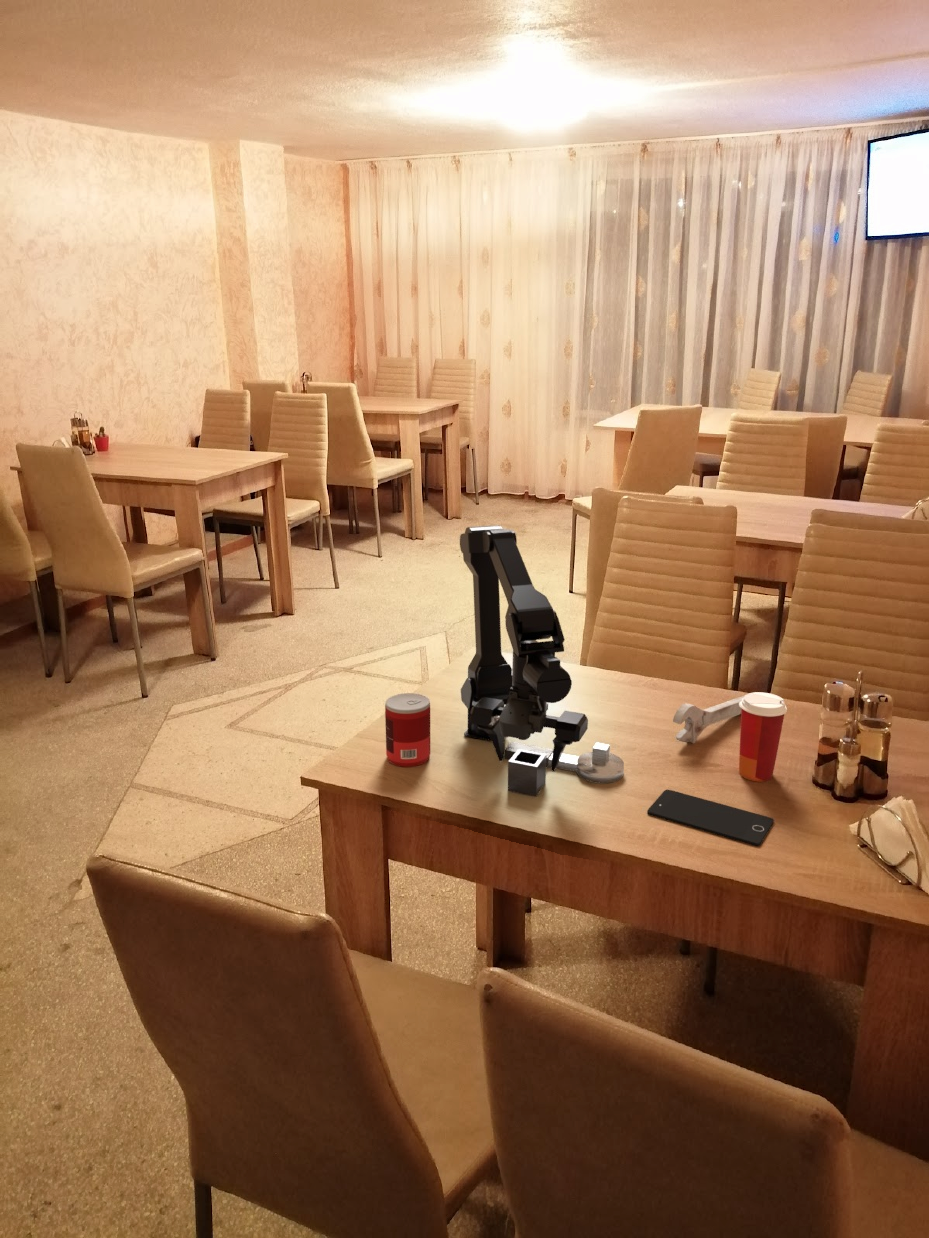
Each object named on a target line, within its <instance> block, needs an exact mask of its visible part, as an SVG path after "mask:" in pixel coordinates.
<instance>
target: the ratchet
mask: <svg viewBox="0 0 929 1238" xmlns="http://www.w3.org/2000/svg"><path fill="white" fill-rule="evenodd" d="M610 748H611V745H610V744H609V743H608V744H607V743H603V742H595V744H594V745H593V747H592V751H589V752H585V753H582V754H580V755H574V754H567V753H564V752H563V753H562V755H561V758H560V760H559V762H558V765H557V767H556V769H559V770H564V771H569V772H574V773H577V775H578V777H580V778H581V779H583V780H585V781H587V782H591V783H595V784H612V783H615V782H618V781H620V780H621V779H622V778H623V776H624V768H625V767H624V765H625V763H624V760H623V759H622V758H621V757H620V756H619V755H617V754H613V753H611V752H610ZM518 749H522V750H527V751H532V752H538V753H543V754H547V755H546V768H549V767H550V768H552V766H551V764H552V757H553V749H554V748H547V747H543V746H536V745H532V744H531V745H530V744H526V743H521V742H520V743H519V742H515V741H511V742H509V743H508V745H507V747H506V748H505V751H504V759H503V760H507V761H509V760H510V759H511V757H512V756H513V755H514V754H515V753H516V751H517V750H518Z"/></svg>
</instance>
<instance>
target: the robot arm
mask: <svg viewBox="0 0 929 1238" xmlns="http://www.w3.org/2000/svg"><path fill="white" fill-rule="evenodd" d="M517 540H518V539H517V534H516V532H515V530H514V529H510V528H503V527H502V526H501V525H500V524H496V525H495V524H494V525H481V526H480V525H479V526H467V527H466V529H465V531H464V532H463V533H460V535H459V550H460V551H461V554H462V558H463V562H464V564H465V565H466V566H467V568H468V570H469V571H470V573H471V574H472V580H473V581H472V584H473V585H472V586H473V608H474V634H475V635H474V636H475V637H474V638H475V639H474V640H475V654H474V656H473V658H472V660H471V661H470V663H469V664H468V666H467V678H466V679H465V681H464V683H463V685H462V686H461V687H460V698H461V699H460V700H461V702H462V703H463V704H464V705H465V707H466V709H467V729H466V731H464V733H463V736H464V737H468V738H473V739H479V740H485V741H489V742H491V743H492V747H493V748H494V751H495V753H496V756H497V758H498V762H502V761H504V760H505V759H504V756H505V749H506V748H505V747H506V745H505V744H506V742H505V741H506V738H513V739H518V740H520V741H526V740H528V739H529V738H530V737H531V736H532V735H534V734H535V733H540V734H541V733H542V732H543V729H544V728H548V729H554V735H555V737H554V738H553V739H552V742H553V748H552V749H553V757H552V764H551V766H552V767H551V772H553V773H554V772H555V771H556V769H557V768H556V767H557V765H558V762H559V760H560V758H561V755H562V753H563V754H564V750H565V748H566V746H569V745H572V744H573V743H578V742H580V740H582V738H583V736H584V735H585V733H586V732H587V730H588V729H589V728H588V725H589V719H588V717H587V715H586V714H585V713H582V712H576V711H569V710H564V711H563V712H562V714H560V716H553V715H549V714H547V712H548V710H549V704H555V703H558V702H561V701H563V700H564V699H565V698H566V697H567V695H569V693H570V691H571V689H572V683H573V681H572V678H571V675H570V674H569V672H568V671H567V670H566V669H565V668H563V667H562V666H561V660H560V659H559V658H558V657H557V656H555V655H556V653H563V652H565V646H564V642H565V637H564V633H563V629H562V626H561V623H560V620H559V617H558V614H557V612H556V610H555V609H554V608H553V606H552V605H551V603H550V601H549V598H548V597H547V596H546V595H545V594H543V593H542V592H540V591H539V590H537V589H536V588H535V586H534V584H533V582H532V580H531V577H530V575H529V572H528V570H527V566H526V565H525V562H524V560H523V557H522V554H521V552H520V549H519V547H518V543H517ZM500 585H501V588H502V591H503V594H504V597H505V598H506V601H507V605H508V606H507V608H506V609H507V610H506V613H505V629H506V633H507V635H508V639H509V643H510V644H511V648H512V667H511V665H510V664H509V663H508V662H507V660H506V659H505V657H504V655H503V654H502V632H501V628H502V627H501V604H500ZM551 638H552V640H548V639H551ZM539 640H546V641H539ZM531 734H532V735H531Z"/></svg>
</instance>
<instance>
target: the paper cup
mask: <svg viewBox="0 0 929 1238" xmlns="http://www.w3.org/2000/svg"><path fill="white" fill-rule="evenodd" d="M743 696H744V695H743ZM739 706H740V707H741V714H740V730H739V731H740V733H739V734H740V735H739V736H740V737H739V756H738V757H739V758H738V762H739V763H738V773H739V775H740V777H742V778H744V779H746V780H749V781H752V782H767V781H770V780H772V778H773V775H774V770H775V766H776V765H775V764H776V760H777V755H778V750H779V745H780V739H781V733H782V729H783V723H784V719H785V714H787V711H788V708H787V706H786V703H785V700H784V699H783V698H782V697H781V696H779V695H776V694H774V693H770V692H769V693H768V692H762V691H761V692H760V691H759V692H758V691H757V692H756V691H754V692H749V693H746V694H745V696H744V697H743V698H742V700H741V702H739Z"/></svg>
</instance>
